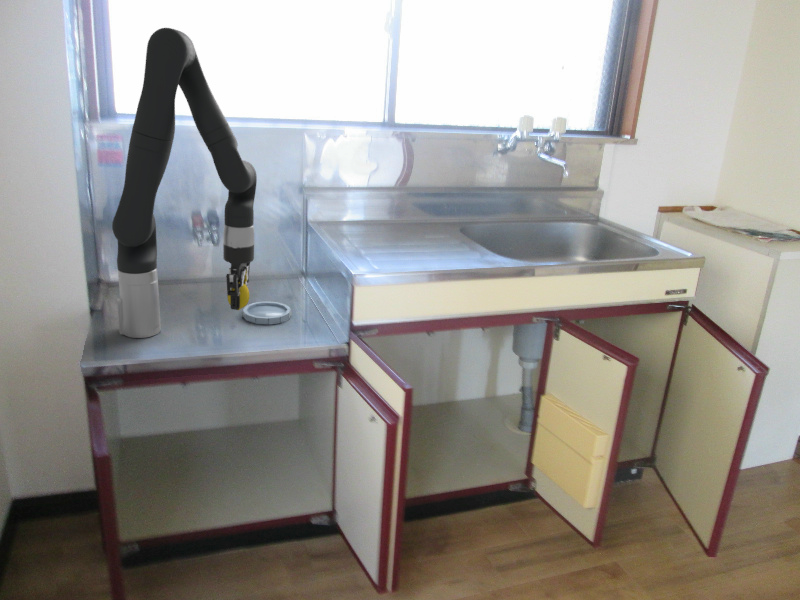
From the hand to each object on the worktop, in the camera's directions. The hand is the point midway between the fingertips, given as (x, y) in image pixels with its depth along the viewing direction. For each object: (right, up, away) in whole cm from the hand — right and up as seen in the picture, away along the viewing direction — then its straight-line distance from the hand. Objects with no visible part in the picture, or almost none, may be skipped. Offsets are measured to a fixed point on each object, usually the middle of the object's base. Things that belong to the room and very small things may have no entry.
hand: (238, 304), depth 173 cm
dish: (+4, -3, +16) cm, 17 cm away
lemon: (0, -2, +1) cm, 2 cm away
